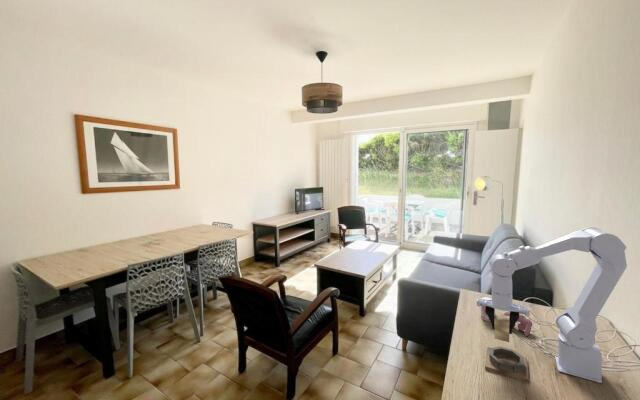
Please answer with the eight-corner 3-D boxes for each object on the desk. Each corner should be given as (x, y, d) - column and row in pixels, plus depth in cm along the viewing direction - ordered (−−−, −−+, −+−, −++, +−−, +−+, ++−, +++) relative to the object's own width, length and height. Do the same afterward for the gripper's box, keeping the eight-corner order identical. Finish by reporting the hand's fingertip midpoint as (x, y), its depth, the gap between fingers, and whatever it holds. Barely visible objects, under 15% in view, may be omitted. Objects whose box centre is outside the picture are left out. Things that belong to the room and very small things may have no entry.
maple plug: (509, 335, 91) (509, 316, 90) (509, 342, 88) (509, 321, 87) (495, 332, 93) (495, 313, 93) (494, 338, 90) (494, 318, 89)
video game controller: (531, 337, 101) (534, 318, 103) (527, 336, 99) (530, 317, 100) (502, 326, 110) (505, 309, 111) (497, 325, 107) (501, 308, 108)
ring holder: (527, 360, 88) (527, 351, 88) (528, 382, 79) (528, 373, 79) (487, 349, 94) (487, 341, 94) (485, 369, 85) (484, 360, 85)
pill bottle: (481, 320, 112) (480, 300, 112) (480, 314, 117) (480, 296, 116) (494, 322, 110) (494, 302, 109) (493, 316, 114) (493, 297, 114)
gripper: (529, 291, 88) (529, 330, 89) (477, 283, 96) (478, 319, 98) (529, 300, 82) (529, 342, 83) (475, 290, 91) (476, 328, 92)
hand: (502, 330), depth 90 cm, fingers closed on maple plug, 4 cm apart
